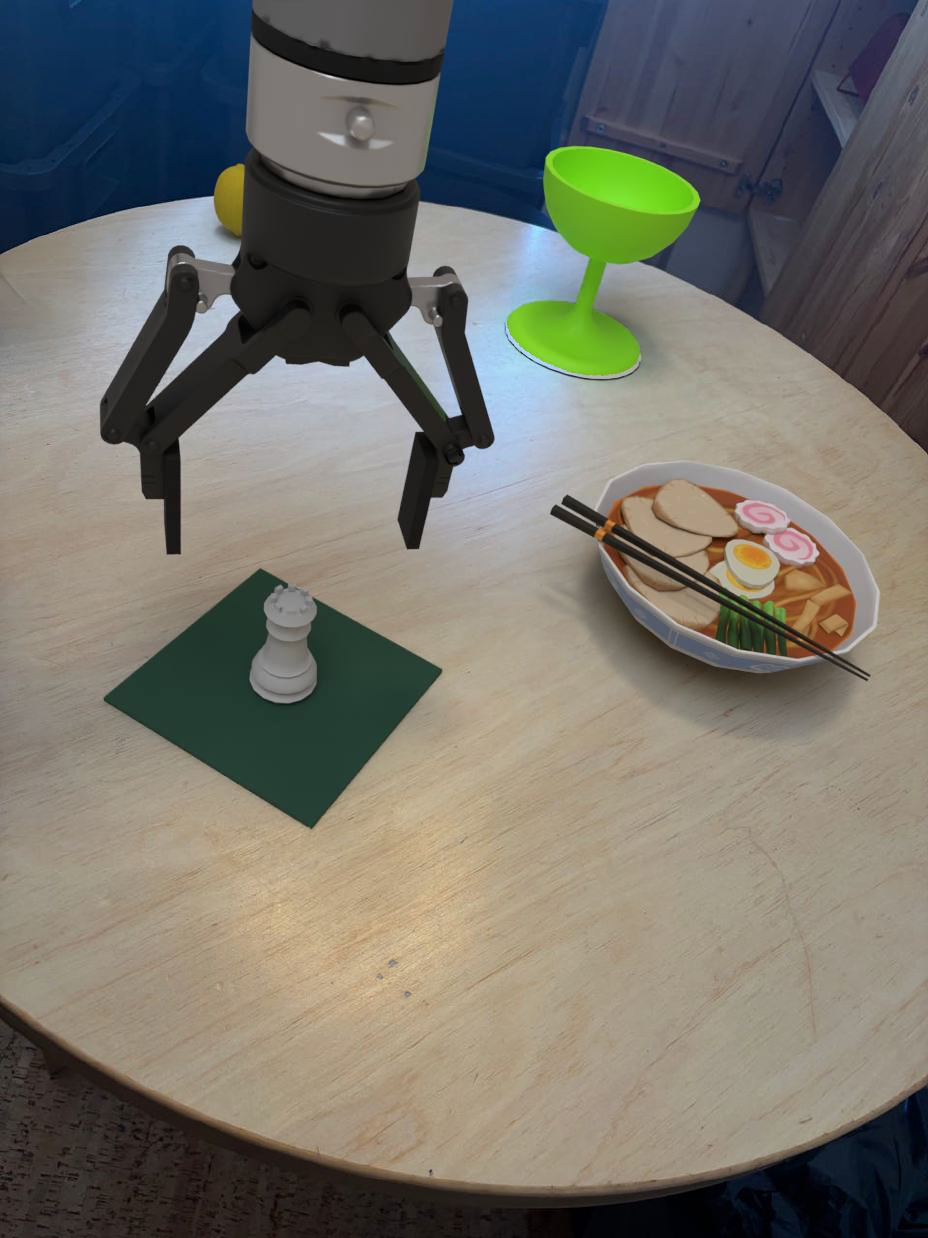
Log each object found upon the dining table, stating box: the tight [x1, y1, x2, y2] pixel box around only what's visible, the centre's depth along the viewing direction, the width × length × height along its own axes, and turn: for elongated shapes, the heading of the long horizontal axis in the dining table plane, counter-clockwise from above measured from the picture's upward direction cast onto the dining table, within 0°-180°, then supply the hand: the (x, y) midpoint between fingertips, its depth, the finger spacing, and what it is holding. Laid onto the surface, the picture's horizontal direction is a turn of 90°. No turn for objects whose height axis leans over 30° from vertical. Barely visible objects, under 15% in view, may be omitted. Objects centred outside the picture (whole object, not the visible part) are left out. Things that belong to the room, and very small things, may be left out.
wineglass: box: [506, 145, 701, 376], centre depth 101 cm, size 16×16×18 cm
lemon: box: [213, 163, 245, 237], centre depth 106 cm, size 6×6×8 cm
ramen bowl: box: [549, 459, 881, 682], centre depth 75 cm, size 25×23×8 cm
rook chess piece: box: [250, 582, 317, 704], centre depth 61 cm, size 4×4×8 cm
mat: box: [103, 567, 443, 829], centre depth 64 cm, size 16×16×1 cm
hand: (294, 536), depth 55 cm, fingers open, 13 cm apart
